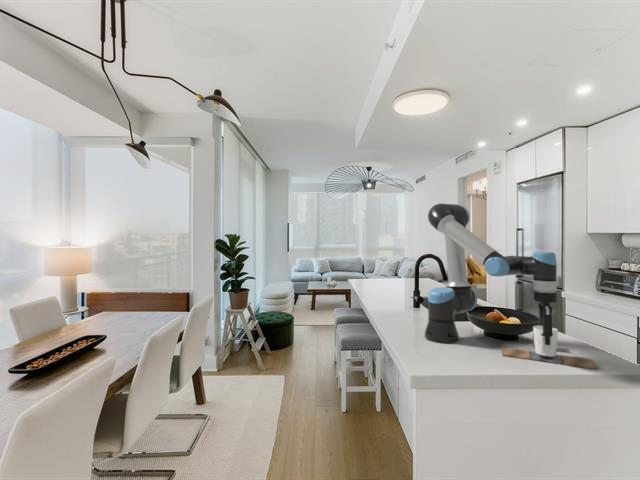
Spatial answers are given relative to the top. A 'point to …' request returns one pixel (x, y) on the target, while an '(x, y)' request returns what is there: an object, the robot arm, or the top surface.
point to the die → (533, 340)
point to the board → (549, 358)
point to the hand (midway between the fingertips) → (545, 349)
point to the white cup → (539, 341)
